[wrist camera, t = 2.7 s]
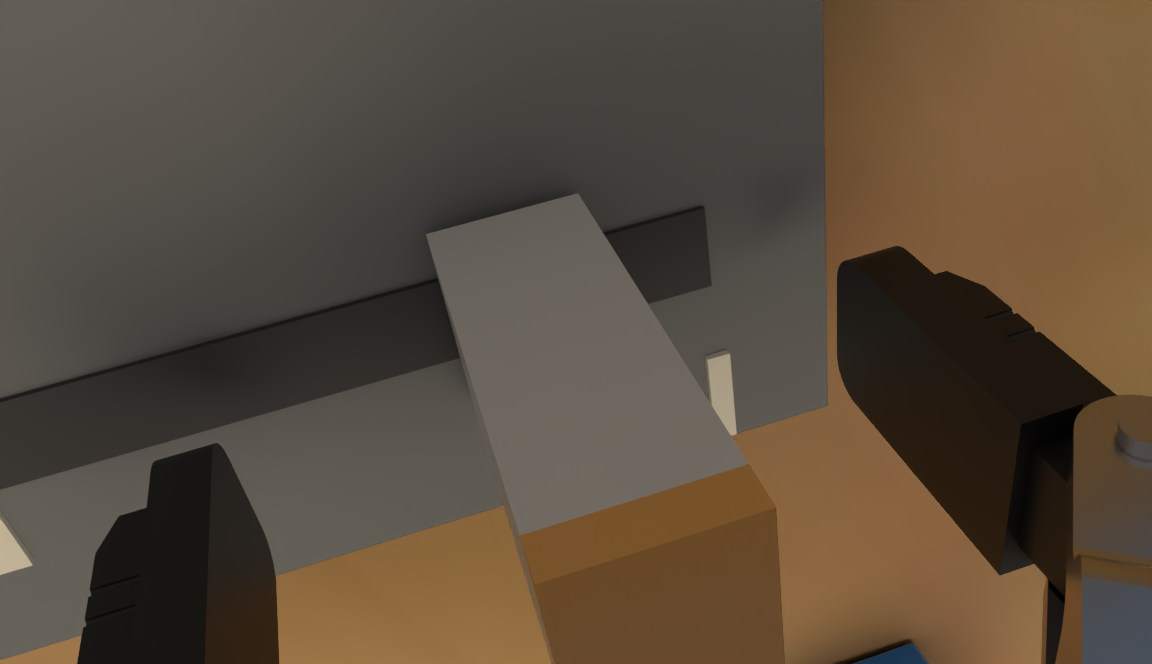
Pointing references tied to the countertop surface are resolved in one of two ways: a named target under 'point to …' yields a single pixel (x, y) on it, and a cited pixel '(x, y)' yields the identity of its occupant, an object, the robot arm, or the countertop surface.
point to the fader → (607, 451)
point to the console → (363, 243)
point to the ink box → (897, 656)
